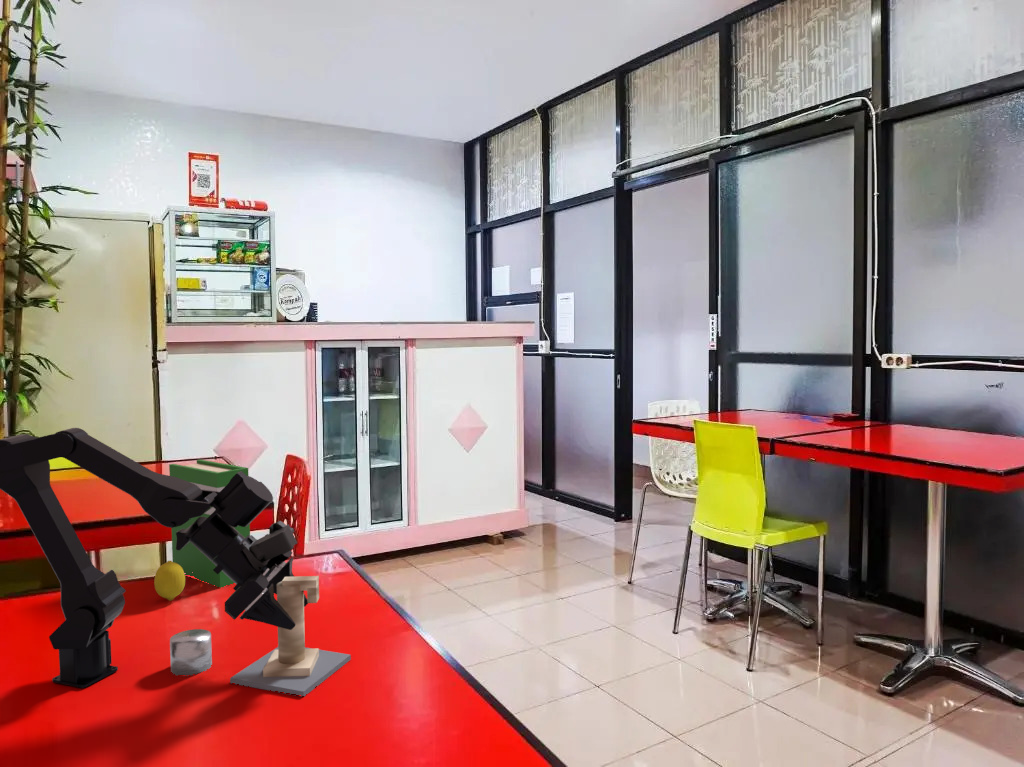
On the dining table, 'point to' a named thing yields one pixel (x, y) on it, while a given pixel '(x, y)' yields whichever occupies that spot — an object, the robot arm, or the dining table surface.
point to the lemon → (169, 580)
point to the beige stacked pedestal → (294, 629)
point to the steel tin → (190, 652)
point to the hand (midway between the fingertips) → (300, 615)
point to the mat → (291, 684)
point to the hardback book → (211, 479)
